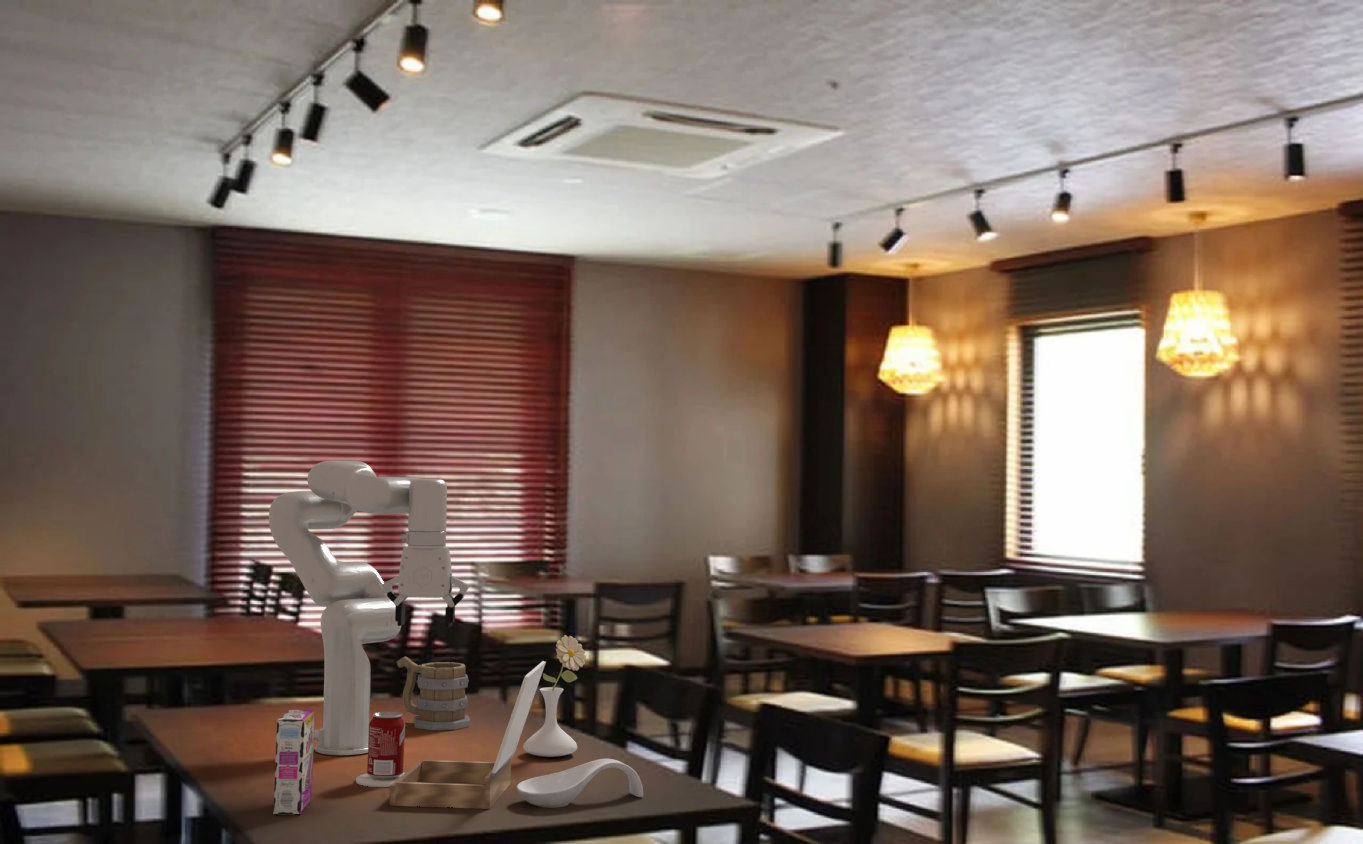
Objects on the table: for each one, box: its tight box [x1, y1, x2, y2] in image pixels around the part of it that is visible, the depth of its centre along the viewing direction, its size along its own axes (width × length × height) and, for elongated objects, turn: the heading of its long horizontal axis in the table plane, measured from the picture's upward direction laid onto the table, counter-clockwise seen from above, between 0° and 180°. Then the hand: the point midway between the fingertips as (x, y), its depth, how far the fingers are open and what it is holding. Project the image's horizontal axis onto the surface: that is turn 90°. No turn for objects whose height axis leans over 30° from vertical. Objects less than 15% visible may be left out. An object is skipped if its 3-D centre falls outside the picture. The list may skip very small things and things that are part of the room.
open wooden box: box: [389, 758, 512, 810], centre depth 260 cm, size 18×20×5 cm
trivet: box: [355, 771, 406, 788], centre depth 270 cm, size 11×11×1 cm
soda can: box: [366, 711, 406, 780], centre depth 270 cm, size 7×7×12 cm
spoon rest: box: [516, 758, 644, 809], centre depth 257 cm, size 24×12×7 cm, turn 117°
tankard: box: [396, 656, 471, 732], centre depth 330 cm, size 20×13×15 cm, turn 58°
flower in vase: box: [522, 634, 587, 758], centre depth 297 cm, size 13×11×25 cm
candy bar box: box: [272, 709, 316, 815], centre depth 248 cm, size 11×5×16 cm, turn 5°
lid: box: [490, 660, 547, 778], centre depth 260 cm, size 19×20×1 cm
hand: (424, 626), depth 282 cm, fingers open, 9 cm apart
